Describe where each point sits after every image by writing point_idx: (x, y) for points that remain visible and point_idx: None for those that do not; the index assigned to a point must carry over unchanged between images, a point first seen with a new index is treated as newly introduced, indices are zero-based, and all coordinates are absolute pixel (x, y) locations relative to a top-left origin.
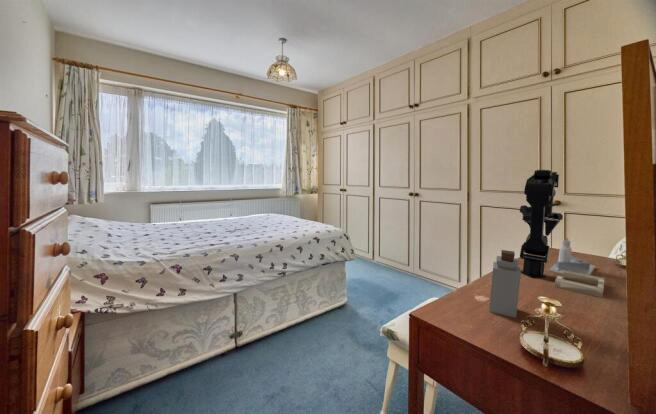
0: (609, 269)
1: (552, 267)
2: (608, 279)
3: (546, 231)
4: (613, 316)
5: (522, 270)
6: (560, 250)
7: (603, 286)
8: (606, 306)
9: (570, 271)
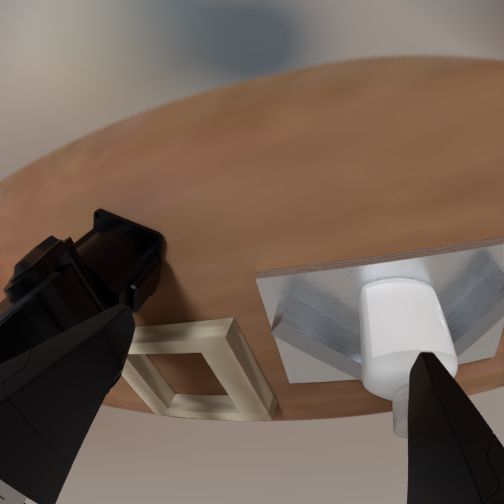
0: (498, 372)
1: (289, 280)
2: (356, 401)
3: (425, 404)
4: (104, 401)
5: (108, 215)
6: (367, 358)
7: (185, 416)
8: (128, 399)
9: (236, 362)
